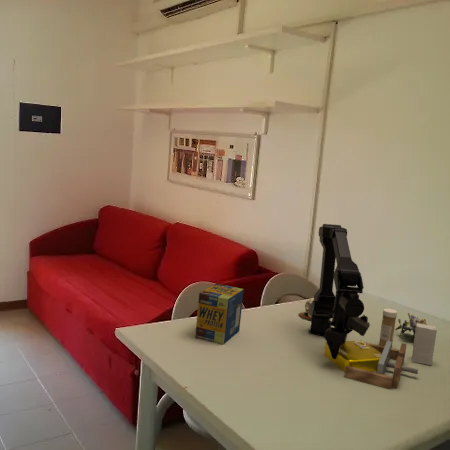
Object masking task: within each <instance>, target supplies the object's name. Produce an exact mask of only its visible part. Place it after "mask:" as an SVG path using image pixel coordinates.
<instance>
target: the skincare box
mask: <svg viewBox="0 0 450 450" xmlns="http://www.w3.org/2000/svg"><path fill="white" fill-rule="evenodd" d="M436 338H437V327H436V326H435V325H431V324H427V325H425V324H419V323H417V324H416V331H415V337H414V339H413V346H412V353H411V362H413V363H416V364H422V365H428V366H432V364H433V357H434V352H435V345H436V344H435V343H436Z"/></svg>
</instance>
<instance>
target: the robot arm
mask: <svg viewBox="0 0 450 450" xmlns="http://www.w3.org/2000/svg"><path fill="white" fill-rule="evenodd" d="M347 236H348V230H347V228H345V227H342V225H341V224H330V223H329V224H328V223H323V224H322V226H319V228H318V237H319V244H320V245H321V247H322V258H321V269H320V279H319V280H320V281H319V289H317V291H316V292H315V293H314V295H313V298H314V300H313V301H312V303H311V305H310V307H309V314H310V316H311V317H312V320H311V319H310V320H311V321H310V329H309V330H308V333H309V334H312V335H318V336H322V337H323V338H324V340H325V341H326V343H327V344H328V347H329V350H330V353H331V356H332V358H333V359H336V357H337V354H338V352H339V349H340V346H341V345H342V344H344V343H345V342H346V341H347V339H348V335H349V334H350V333H351V332H353V331H354V332H356V333H357V334H359V335H360V336H361V337H364V336H365V335H366V333H367V331H368V329H369V328H370V326H371V325H370V322H369V317H368V316H366V315H365V314H363V313H364V310H365V305H364V302H363V301H362V300H361V299H360V294H363V293H364V292H363V290H364V289H365V287H364V282H363V276H362V273H361V271H360V270H359V267H358V264H357V263H356V262H354V260H353V259H352V255H351V251H350V247H349V240H348V237H347ZM334 287H335V293H334V291H333V290H334ZM362 314H363V315H362Z"/></svg>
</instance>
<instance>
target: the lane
mask: <svg viewBox="0 0 450 450" xmlns="http://www.w3.org/2000/svg"><path fill="white" fill-rule="evenodd" d="M364 342H365V343H367V344H368V345H370V346H371V347H373V348H374V349H376V350H378V351H379V352H381V353H382V352H383V350H384V346H380V345H379V344H375V343H372V342H367V341H364ZM406 349H407V343H402V342H401V343H400V348H399V349H397V348H393V347H392V348H391V352H390V358H389V360H390V359H392V360H395V363H394V364H395V367H394V368H393V373H392V376H390V375H387V374H384V375H383V374H379V373H377V372H371V371H367V370H363V369H359V368H355V367H351V366H346V370H345V371H344V378H346V379H350V380H354V381H360V382H362V383H367V384H370V385H373V386H378V387H381V388H386V389H389V390H392V388H394V389H398V386H399V383H400V379H401V374H402V370H401V368H402V366H404V364H405V358H406V351H407V350H406Z"/></svg>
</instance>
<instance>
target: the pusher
mask: <svg viewBox="0 0 450 450" xmlns="http://www.w3.org/2000/svg"><path fill="white" fill-rule="evenodd" d="M391 345H392V346H393V343H392V342H391V341H387V342H386V345H385V347H384V350H383V352H382V355H381V358H380V360H379V363H378V368H377V371H376V373H379V374H383V375H385V372H386V371H387V368H391V369H394V367H395V364H396V363H393V362H389V360H390V352H391ZM387 358H388V361H387ZM386 367H387V368H386ZM401 370H402V371H403V372H407V373H411V374H414V375H418V372H419V369H417V368H413V367H409V366H405V365H403V366H402V368H401ZM402 371H401V372H402Z"/></svg>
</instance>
